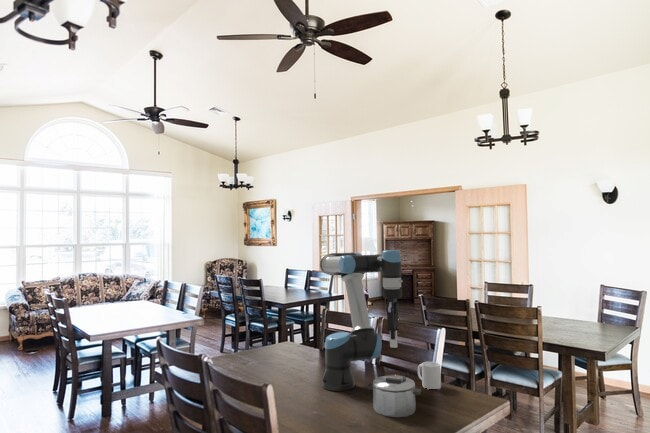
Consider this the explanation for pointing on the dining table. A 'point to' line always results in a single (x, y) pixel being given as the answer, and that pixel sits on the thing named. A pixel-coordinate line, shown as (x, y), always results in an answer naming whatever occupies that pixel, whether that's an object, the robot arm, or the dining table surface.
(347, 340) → the robot arm
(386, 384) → the lid
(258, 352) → the dining table surface
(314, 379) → the dining table surface
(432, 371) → the cup
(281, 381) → the dining table surface
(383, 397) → the pot
